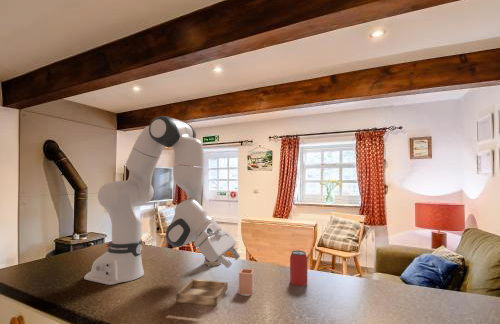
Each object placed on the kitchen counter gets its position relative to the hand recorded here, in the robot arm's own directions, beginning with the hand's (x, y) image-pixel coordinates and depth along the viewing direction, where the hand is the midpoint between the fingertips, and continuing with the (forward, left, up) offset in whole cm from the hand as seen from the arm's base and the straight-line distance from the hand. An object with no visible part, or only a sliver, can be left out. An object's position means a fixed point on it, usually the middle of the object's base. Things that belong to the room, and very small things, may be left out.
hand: (234, 262), depth 94 cm
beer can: (+23, +12, -11) cm, 28 cm away
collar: (+5, 0, -10) cm, 11 cm away
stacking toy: (-17, +27, -11) cm, 34 cm away
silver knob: (+5, 0, -10) cm, 11 cm away
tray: (-9, -6, -10) cm, 15 cm away
